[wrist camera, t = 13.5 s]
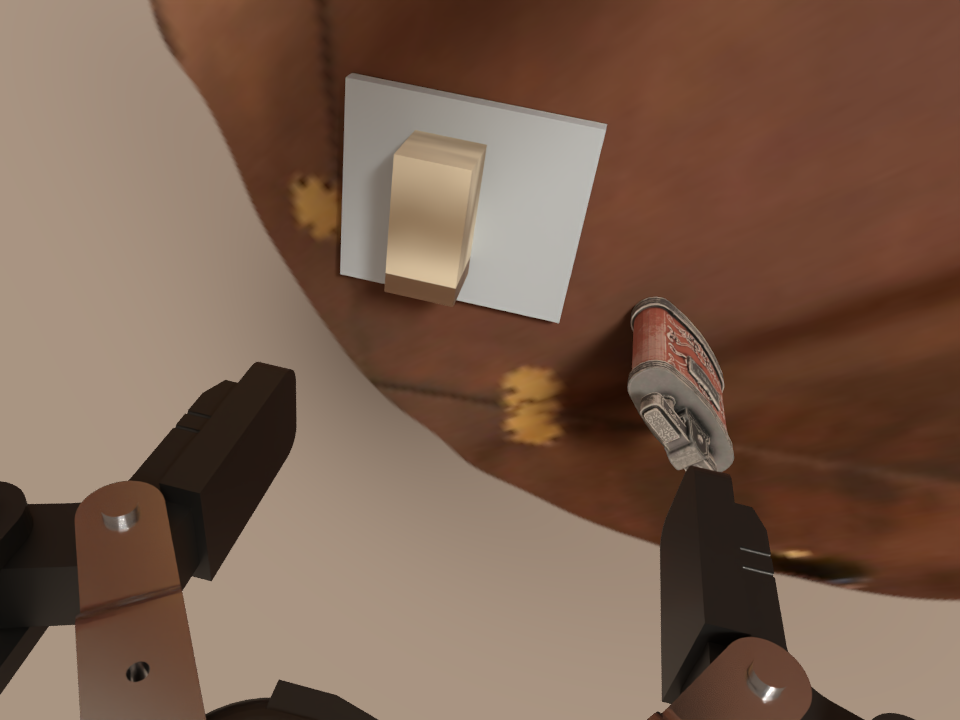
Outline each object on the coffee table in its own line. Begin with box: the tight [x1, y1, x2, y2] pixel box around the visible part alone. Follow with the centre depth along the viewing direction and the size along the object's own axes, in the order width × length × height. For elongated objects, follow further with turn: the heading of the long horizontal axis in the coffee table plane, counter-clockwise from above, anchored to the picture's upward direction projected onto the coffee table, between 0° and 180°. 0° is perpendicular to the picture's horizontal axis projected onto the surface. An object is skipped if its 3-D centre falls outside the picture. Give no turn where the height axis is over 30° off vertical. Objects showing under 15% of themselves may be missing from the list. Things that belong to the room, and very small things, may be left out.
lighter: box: [628, 297, 734, 472], centre depth 41 cm, size 8×3×10 cm, turn 40°
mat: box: [340, 73, 607, 323], centre depth 42 cm, size 14×12×1 cm
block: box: [384, 130, 487, 307], centre depth 40 cm, size 8×4×4 cm, turn 172°
